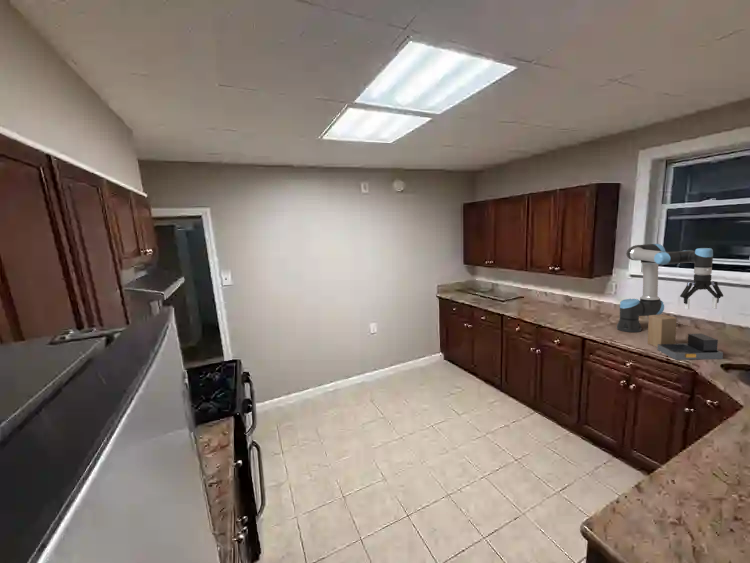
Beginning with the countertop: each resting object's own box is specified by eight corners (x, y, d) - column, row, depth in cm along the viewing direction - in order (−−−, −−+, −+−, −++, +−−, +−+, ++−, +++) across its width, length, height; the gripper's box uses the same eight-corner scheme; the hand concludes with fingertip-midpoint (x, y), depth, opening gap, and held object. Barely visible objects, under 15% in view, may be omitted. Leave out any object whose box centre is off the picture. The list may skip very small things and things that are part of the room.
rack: (657, 350, 210) (658, 333, 209) (700, 349, 206) (701, 332, 205) (676, 360, 194) (677, 342, 193) (723, 359, 190) (724, 341, 189)
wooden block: (661, 342, 222) (662, 313, 219) (675, 347, 212) (676, 317, 209) (647, 343, 222) (648, 315, 219) (660, 348, 212) (661, 319, 209)
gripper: (681, 276, 195) (679, 310, 198) (733, 273, 189) (730, 309, 192) (673, 274, 202) (672, 307, 206) (723, 272, 196) (720, 306, 199)
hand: (700, 308), depth 199 cm, fingers open, 13 cm apart
